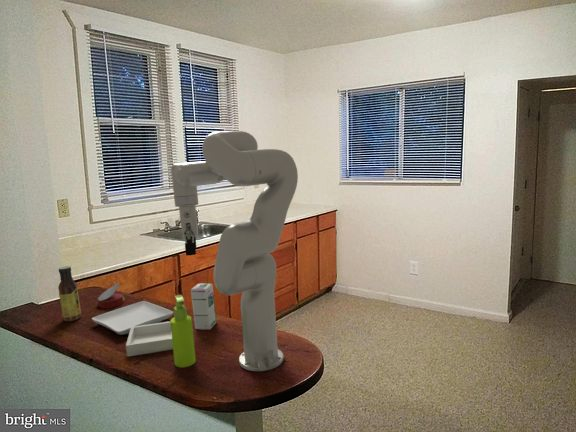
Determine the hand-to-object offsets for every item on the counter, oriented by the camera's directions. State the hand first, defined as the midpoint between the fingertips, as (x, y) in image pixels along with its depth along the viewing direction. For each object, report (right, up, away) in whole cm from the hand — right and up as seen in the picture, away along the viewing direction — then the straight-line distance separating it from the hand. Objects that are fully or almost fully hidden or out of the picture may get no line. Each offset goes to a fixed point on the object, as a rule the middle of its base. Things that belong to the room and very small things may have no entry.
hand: (191, 251), depth 141 cm
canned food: (-40, -24, +32) cm, 56 cm away
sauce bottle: (-49, -27, +17) cm, 58 cm away
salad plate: (-23, -27, +11) cm, 37 cm away
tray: (-11, -29, -6) cm, 31 cm away
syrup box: (+4, -26, +4) cm, 27 cm away
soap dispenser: (+3, -30, -20) cm, 37 cm away
